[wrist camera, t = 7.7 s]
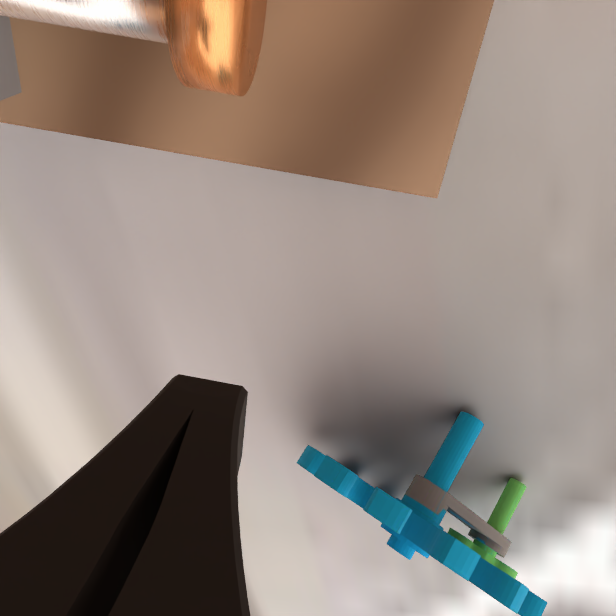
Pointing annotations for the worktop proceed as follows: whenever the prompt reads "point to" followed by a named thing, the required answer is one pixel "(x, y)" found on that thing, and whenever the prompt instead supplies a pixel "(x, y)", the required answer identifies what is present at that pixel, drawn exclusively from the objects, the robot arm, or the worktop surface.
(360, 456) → the worktop surface
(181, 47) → the shaft
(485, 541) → the gear
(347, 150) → the bearing stand
